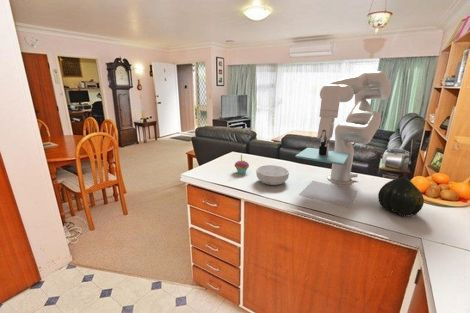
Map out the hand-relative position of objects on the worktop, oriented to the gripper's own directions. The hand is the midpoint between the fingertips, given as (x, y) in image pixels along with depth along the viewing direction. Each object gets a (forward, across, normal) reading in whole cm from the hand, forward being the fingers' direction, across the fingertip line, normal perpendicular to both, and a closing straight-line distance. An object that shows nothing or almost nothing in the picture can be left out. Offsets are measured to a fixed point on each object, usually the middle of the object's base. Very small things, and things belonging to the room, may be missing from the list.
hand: (323, 153), depth 108 cm
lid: (+1, 0, 0) cm, 1 cm away
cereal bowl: (+20, +2, -24) cm, 31 cm away
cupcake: (+20, -2, -45) cm, 49 cm away
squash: (+20, 0, +32) cm, 37 cm away
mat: (+19, -1, +5) cm, 20 cm away
